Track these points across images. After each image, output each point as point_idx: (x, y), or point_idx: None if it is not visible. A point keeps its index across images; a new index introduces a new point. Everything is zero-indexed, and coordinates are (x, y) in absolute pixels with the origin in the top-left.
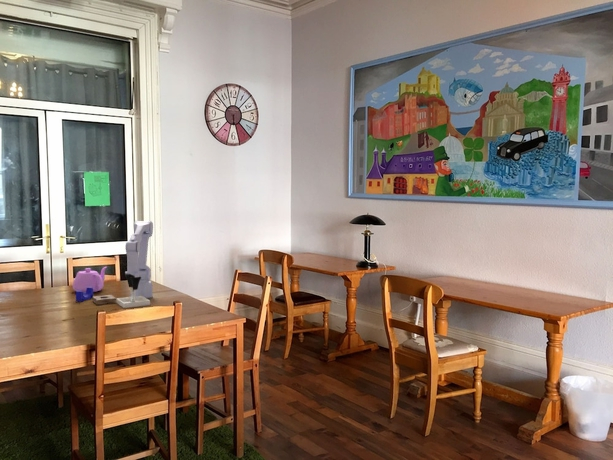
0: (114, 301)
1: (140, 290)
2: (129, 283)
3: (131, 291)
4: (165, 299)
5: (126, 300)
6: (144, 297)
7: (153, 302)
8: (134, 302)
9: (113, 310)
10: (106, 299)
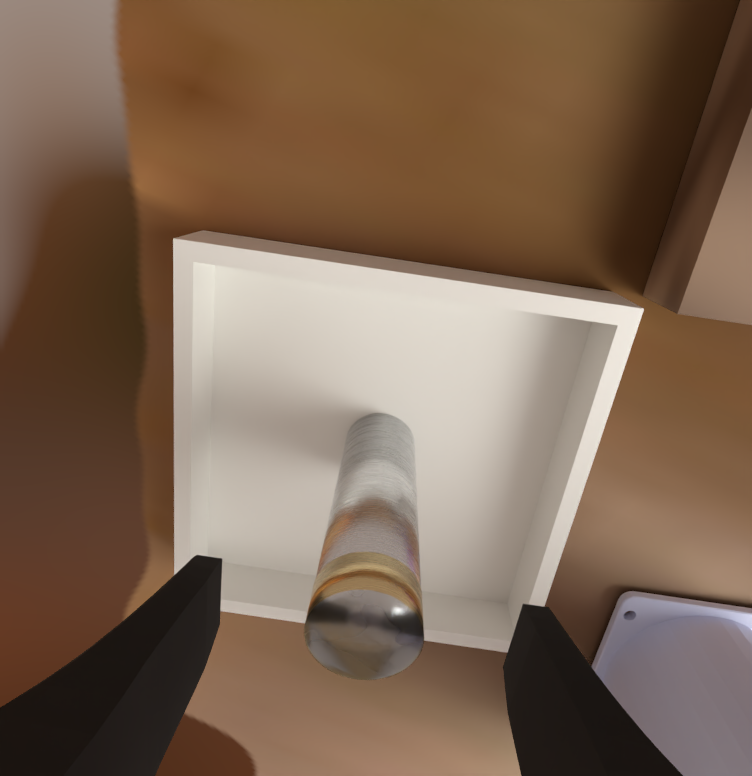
0: (660, 275)
1: (668, 734)
2: (549, 689)
3: (338, 530)
4: (381, 769)
5: (562, 436)
6: None
7: None
8: (176, 410)
9: (126, 16)
10: (740, 126)
